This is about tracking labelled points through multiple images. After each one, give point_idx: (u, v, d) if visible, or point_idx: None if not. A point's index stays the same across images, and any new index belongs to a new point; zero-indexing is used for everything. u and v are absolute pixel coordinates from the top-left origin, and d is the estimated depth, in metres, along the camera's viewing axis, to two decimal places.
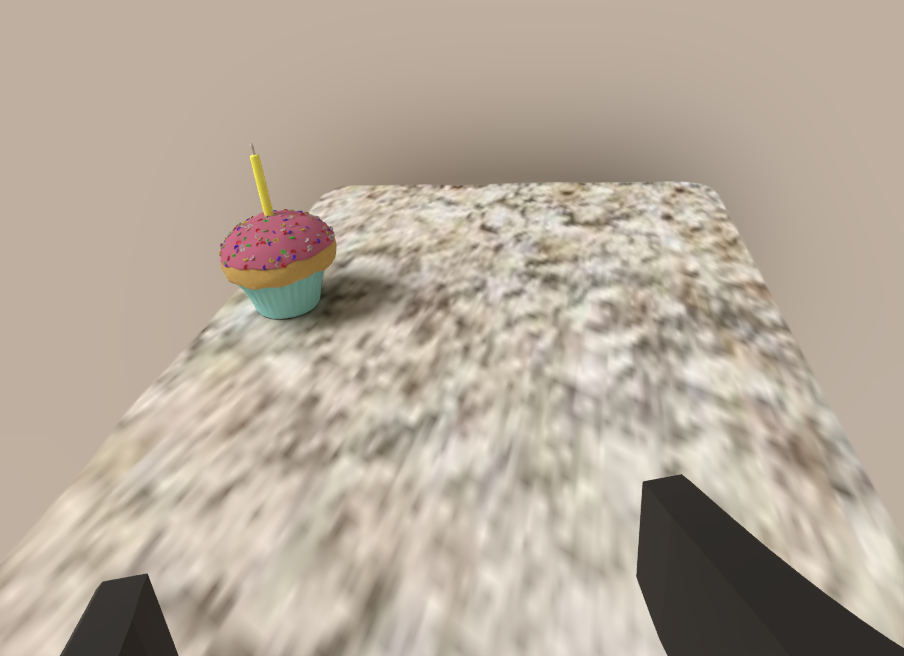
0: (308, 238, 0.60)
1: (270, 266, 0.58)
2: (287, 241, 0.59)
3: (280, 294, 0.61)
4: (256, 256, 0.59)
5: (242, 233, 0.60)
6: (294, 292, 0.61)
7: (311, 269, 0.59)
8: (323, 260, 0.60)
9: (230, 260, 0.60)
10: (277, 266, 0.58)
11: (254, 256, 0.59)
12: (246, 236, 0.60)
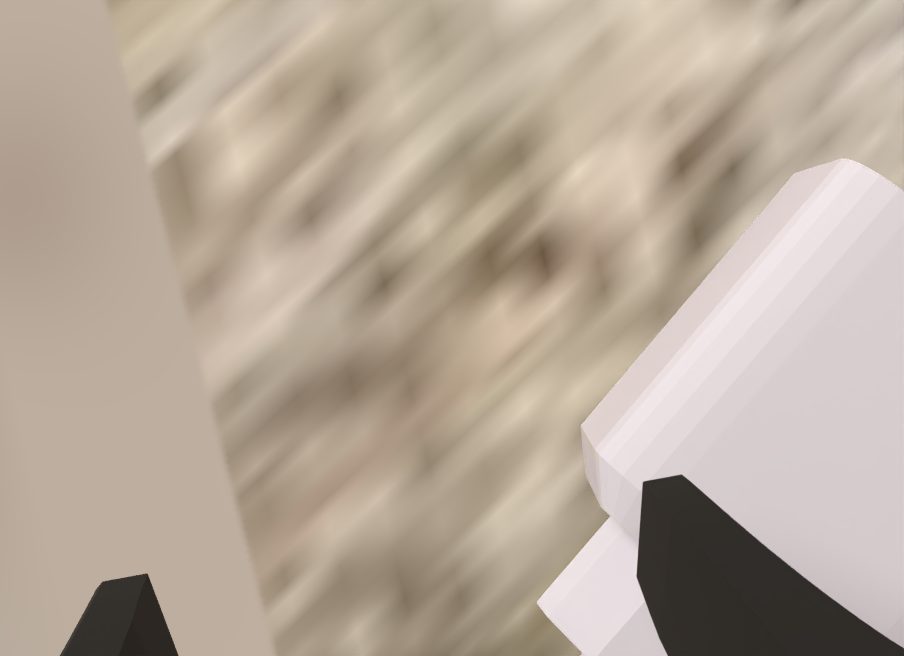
0: None
1: None
2: None
3: None
4: None
5: None
6: None
7: None
8: None
9: None
10: None
11: None
12: None
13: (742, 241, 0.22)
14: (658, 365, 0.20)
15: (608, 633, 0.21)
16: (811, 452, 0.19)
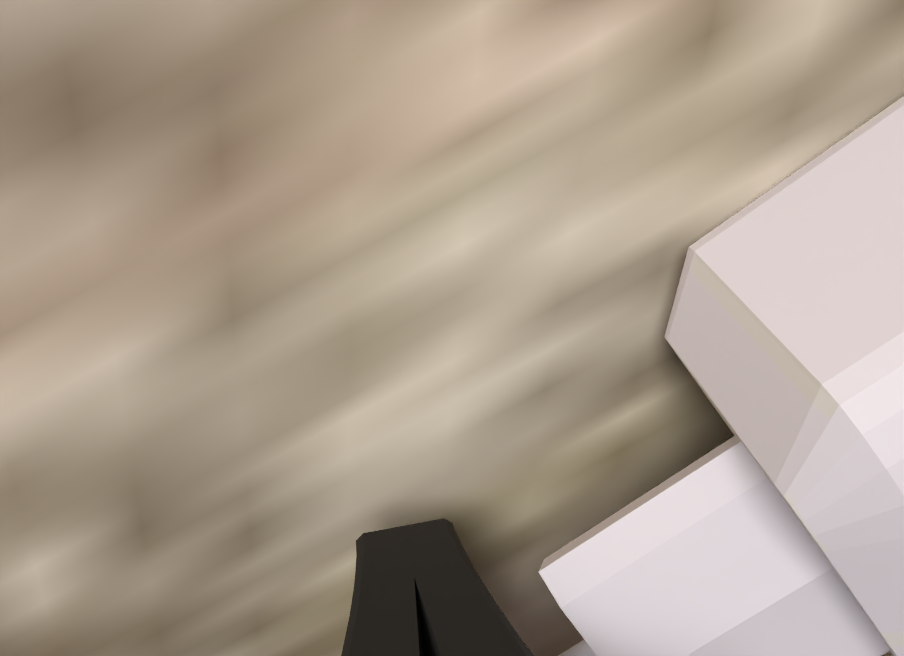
0: None
1: None
2: None
3: None
4: None
5: None
6: None
7: None
8: None
9: None
10: None
11: None
12: None
13: None
14: None
15: (669, 652, 0.11)
16: None
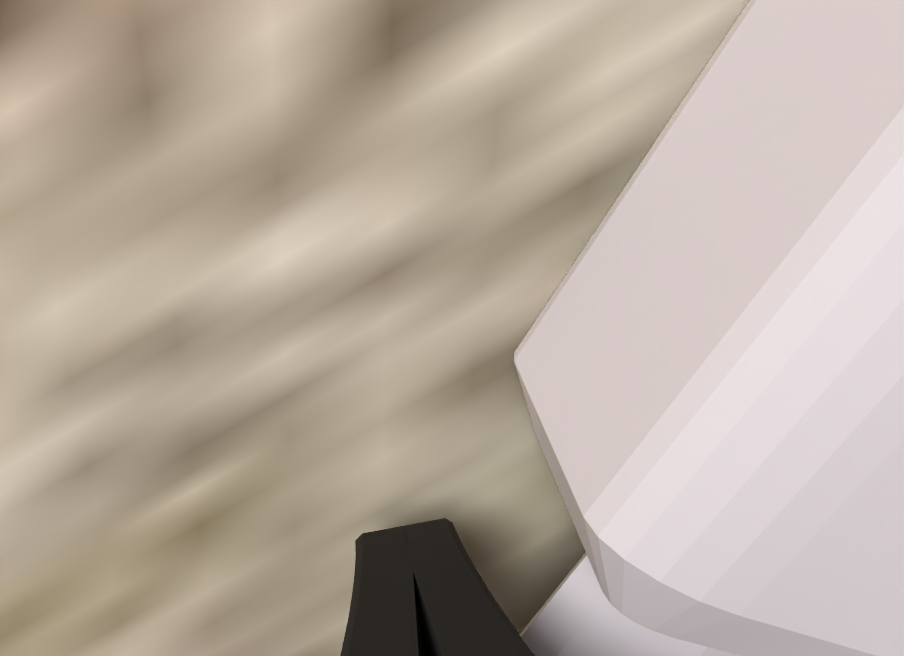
0: None
1: None
2: None
3: None
4: None
5: None
6: None
7: None
8: None
9: None
10: None
11: None
12: None
13: None
14: (701, 303, 0.09)
15: None
16: None
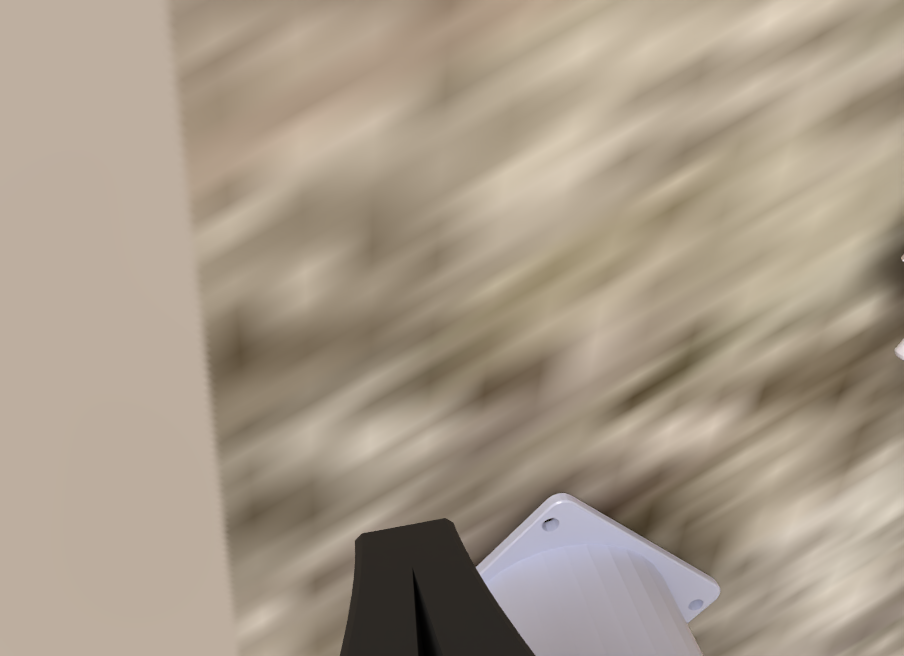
0: None
1: None
2: None
3: None
4: None
5: None
6: None
7: None
8: None
9: None
10: None
11: None
12: None
13: None
14: None
15: None
16: None
